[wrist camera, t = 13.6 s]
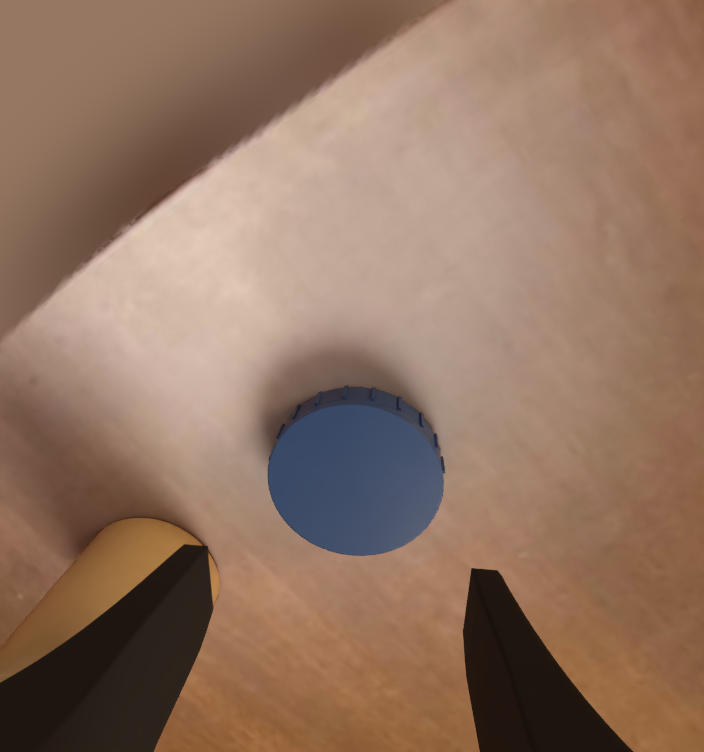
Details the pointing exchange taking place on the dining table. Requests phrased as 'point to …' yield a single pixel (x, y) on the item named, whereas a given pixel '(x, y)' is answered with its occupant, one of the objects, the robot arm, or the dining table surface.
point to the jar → (95, 586)
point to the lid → (356, 471)
